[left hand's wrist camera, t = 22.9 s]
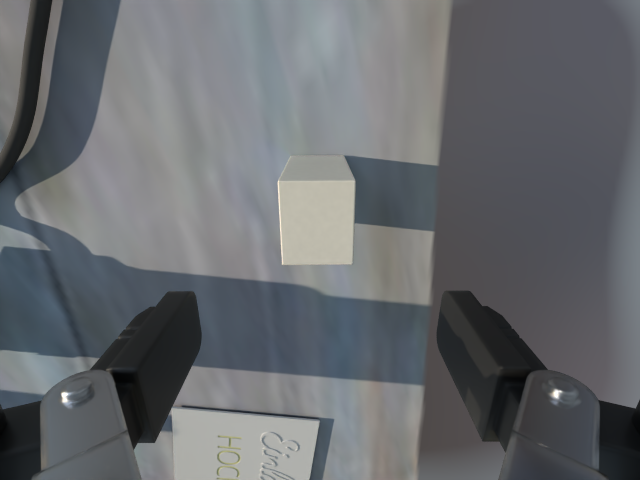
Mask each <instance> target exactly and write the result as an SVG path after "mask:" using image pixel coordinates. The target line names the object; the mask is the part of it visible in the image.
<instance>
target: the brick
mask: <svg viewBox="0 0 640 480" xmlns="http://www.w3.org/2000/svg"><path fill="white" fill-rule="evenodd" d="M355 192H356V181H355V178H354V176H353V174H352V172H351V170H350V167H349V165H348V163H347V161H346V159H345V157H344V155H308V156H290V158H289V160H288V162H287V164H286V166H285V168H284V170H283V172H282V174H281V177H280V179H279V181H278V194H279V213H280V232H281V251H282V264H283V265H344V264H353V255H354V224H355Z"/></svg>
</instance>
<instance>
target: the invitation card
mask: <svg viewBox="0 0 640 480" xmlns="http://www.w3.org/2000/svg"><path fill="white" fill-rule="evenodd" d="M319 422H320V420H317V419H306V418H295V417H284V416H273V415H262V414H251V413H239V412H228V411H217V410H206V409H195V408H184V407H173V406H172V431H173V455H174V480H309V479H310V473H311V468H312V462H313V456H314V451H315V445H316V439H317V433H318V428H319Z"/></svg>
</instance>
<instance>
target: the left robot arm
mask: <svg viewBox="0 0 640 480" xmlns="http://www.w3.org/2000/svg"><path fill="white" fill-rule="evenodd" d="M51 5H52V0H31V3H30V10H29V17H28V23H27V30H26V37H25V43H24V52H23V60H22V70H21V80H20V88H19V96H18V103H17V108H16V113H15V117H14V121H13V124H12V127H11V130H10V133H9V136H8V138H7V140H6V143H5V145H4V147H3V149H2V151H1V153H0V182H1V181H2V180H3V179H4V178H5V177H6V176H7V174H8V173H9V172H10V170H11V169H12V168H13V166H14V164H15V163H16V161H17V159H18V158H19V156H20V154H21V152H22V150H23V148H24V146H25V143H26V141H27V138H28V136H29V133H30V130H31V127H32V123H33V120H34V115H35V111H36V105H37V99H38V92H39V85H40V76H41V68H42V61H43V54H44V47H45V41H46V35H47V29H48V24H49V17H50V11H51ZM201 337H202V335H201V326H200V320H199V313H198V306H197V300H196V295H195V293H194V292H192V291H169V292H167V293H166V294H165V296H164V297H163V298H162V299H161V301H160V302H159V303H158V304H157V306H156V307H149V308H148V309H146V310H145V311H143V312H142V313H140V314H139V315H137V316H136V317H135V318H134V319H133V320H132V321H131V322H130V324H129V325H128V326H127V327H126V330H124V331H123V332H122V333H121V334H120V335H119V336H118V339H116V340H115V341H114V342H113V343H112V345H111V346H110V347H109V348H108V349H107V351H106V352H105V353H104V354H103V355H102V356H101V358H100V359H99V360H98V361H97V362H96V363H95V365H94V366H93V367H92V368H91V369H90V370H89V371H84V372H80V373H77V374H75V375H72V376H70V377H68V378H66V379H64V380H62V381H61V382H59V383H58V384H56V385H55V386H53V387H52V388H51V389H50V390H49V391H48V392H47V393H46V394H45V396H44V397H43V399H42V401H38V402H34V403H30V404H25V405H21V406H17V407H12V408H8V409H2V407H1V405H0V480H142V479H141V475H140V472H139V468H138V465H137V461H136V457H135V454H134V449H135V447H136V445H137V443H155V441H156V439H157V437H158V435H159V433H160V431H161V429H162V427H163V425H164V423H165V421H166V418H167V416H168V414H169V412H170V410H171V408H172V406H173V404H174V402H175V400H176V398H177V396H178V394H179V392H180V389H181V387H182V385H183V383H184V381H185V379H186V377H187V375H188V373H189V371H190V369H191V367H192V365H193V363H194V360H195V358H196V356H197V354H198V352H199V349H200V346H201ZM437 344H438V348H439V351H440V353H441V355H442V357H443V359H444V362H445V364H446V366H447V368H448V370H449V372H450V374H451V376H452V378H453V380H454V383H455V385H456V387H457V389H458V391H459V393H460V395H461V397H462V399H463V401H464V403H465V406H466V408H467V410H468V412H469V414H470V416H471V418H472V420H473V422H474V424H475V426H476V429H477V431H478V433H479V435H480V437H481V439H482V441H500V443H501V445H502V447H503V449H504V451H505V453H506V454H505V458H504V461H503V465H502V468H501V472H500V475H499V479H498V480H640V400H639V403H638V405H637V407H636V409H635V408H630V407H626V406H622V405H617V404H613V403H609V402H604V401H600V400H598V399H597V397H596V396H595V394H594V393H593V392H592V391H591V390H590V389H589V388H588V387H587V386H585V385H584V384H582V383H581V382H579V381H578V380H576V379H574V378H572V377H570V376H568V375H565V374H563V373H560V372H556V371H551V370H548V369H547V368H546V367H545V366H544V365H543V363H542V362H541V361H540V360H539V359H538V358H537V356H536V355H535V354H534V353H533V352H532V350H531V349H530V348H529V347H528V346H527V345H526V343H525V342H524V341H523V340H522V339H521V338H519V335H518V334H517V333H516V332H515V330H514V329H512V328H511V326H510V324H509V323H508V322H507V321H506V320H505V319H504V317H503V316H502V315H500V314H499V313H497V312H496V311H494V310H493V309H491V308H489V307H488V306H482V305H481V304H480V303H479V302H478V300H477V299H476V298H475V297H474V295H473V294H472V293H471V292H470V291H445V292H444V293H443V295H442V300H441V307H440V314H439V320H438V327H437Z"/></svg>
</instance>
